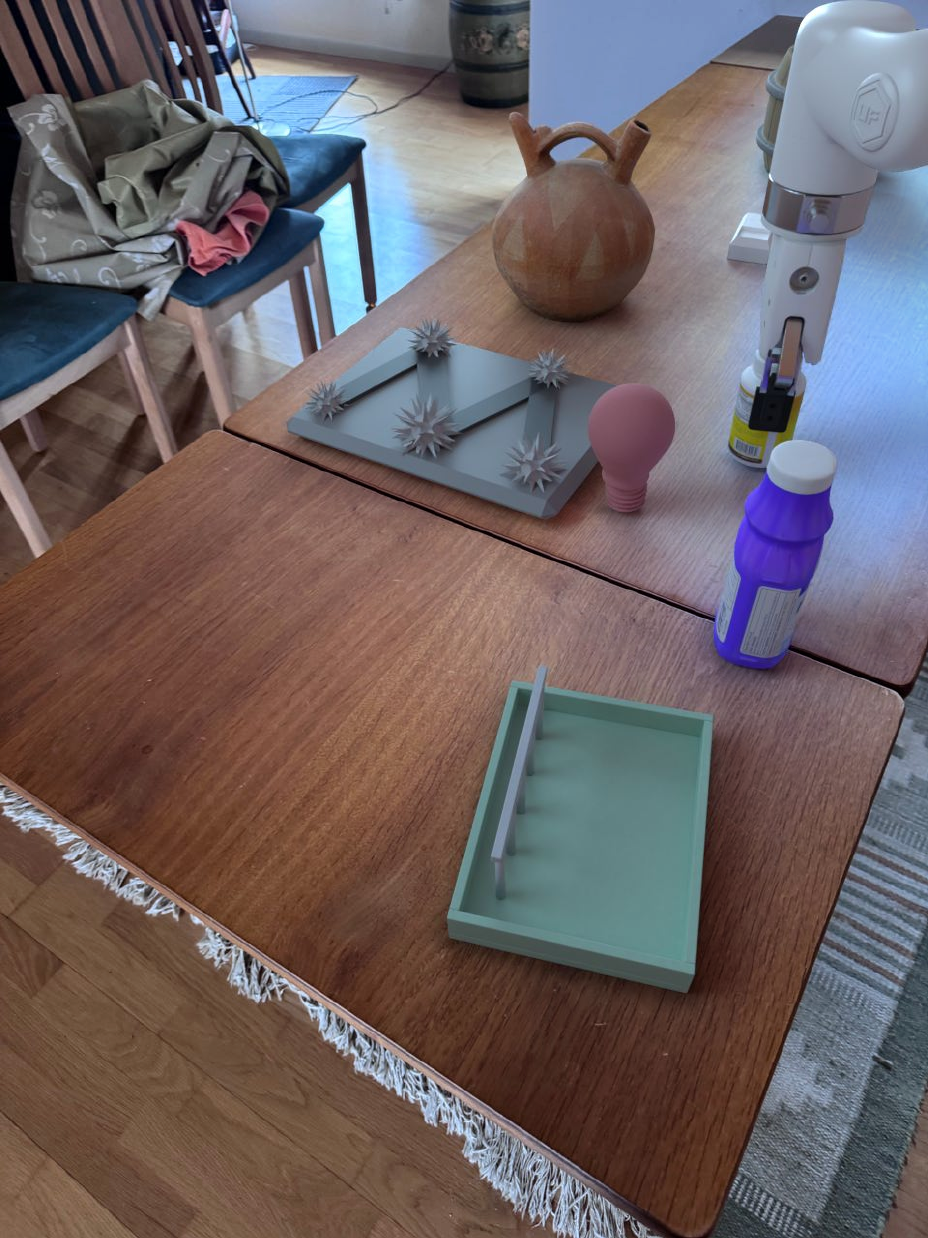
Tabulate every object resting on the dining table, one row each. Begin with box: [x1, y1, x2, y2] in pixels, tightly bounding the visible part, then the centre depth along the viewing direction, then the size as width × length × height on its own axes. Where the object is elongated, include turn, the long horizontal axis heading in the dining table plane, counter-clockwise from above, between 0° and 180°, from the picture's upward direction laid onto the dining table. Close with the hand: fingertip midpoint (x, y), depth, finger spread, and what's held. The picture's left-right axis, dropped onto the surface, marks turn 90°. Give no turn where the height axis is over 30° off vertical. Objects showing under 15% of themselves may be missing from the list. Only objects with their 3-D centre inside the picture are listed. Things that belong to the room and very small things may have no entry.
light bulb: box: [588, 382, 676, 513], centre depth 74 cm, size 7×7×12 cm
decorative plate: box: [285, 315, 620, 521], centre depth 86 cm, size 30×22×7 cm
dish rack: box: [446, 664, 715, 994], centre depth 54 cm, size 14×18×7 cm
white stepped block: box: [726, 212, 774, 266], centre depth 112 cm, size 5×9×3 cm, turn 156°
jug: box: [491, 111, 656, 323], centre depth 98 cm, size 18×18×20 cm
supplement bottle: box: [727, 348, 807, 469], centre depth 79 cm, size 6×6×10 cm
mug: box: [755, 43, 795, 174], centre depth 122 cm, size 19×25×15 cm
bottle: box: [713, 439, 839, 670], centre depth 61 cm, size 7×6×17 cm
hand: (767, 407), depth 79 cm, fingers closed on supplement bottle, 5 cm apart
